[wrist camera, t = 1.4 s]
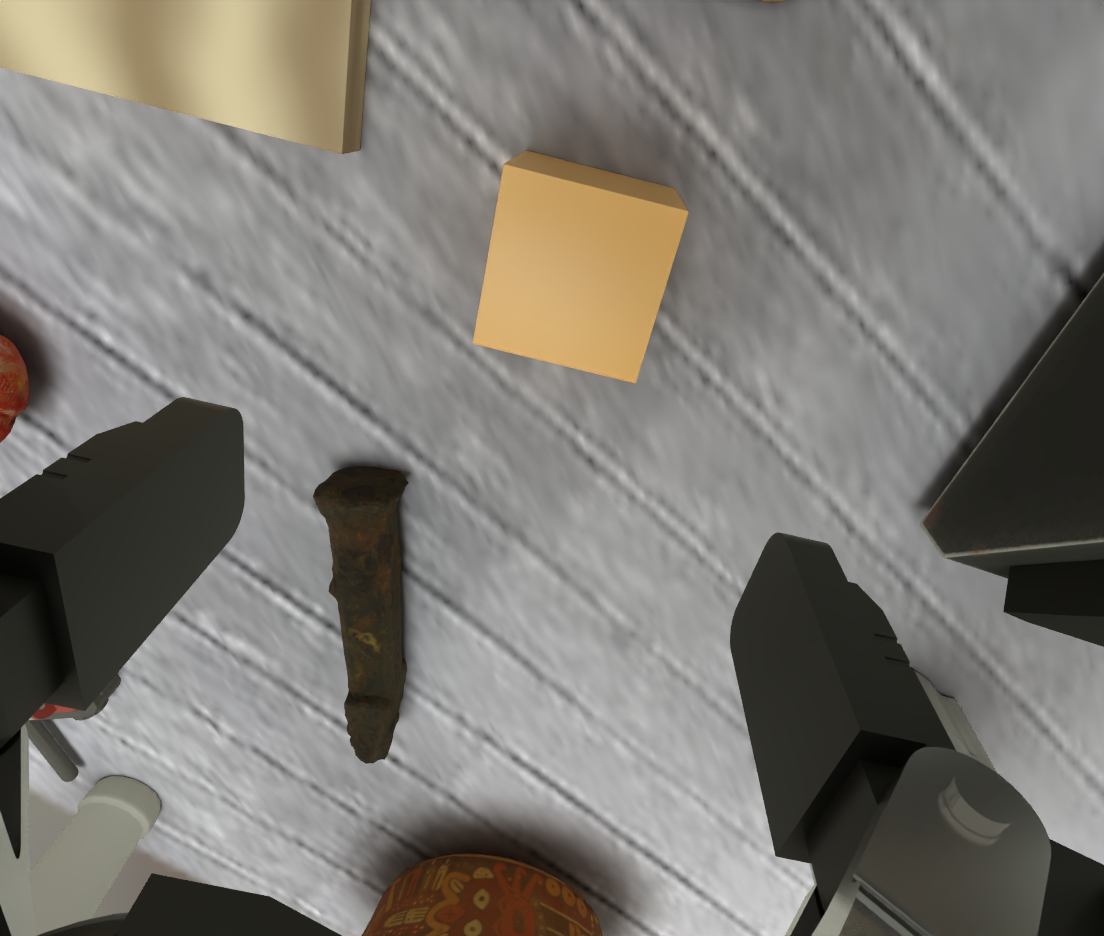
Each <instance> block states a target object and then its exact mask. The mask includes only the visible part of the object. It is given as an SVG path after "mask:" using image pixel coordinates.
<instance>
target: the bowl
mask: <svg viewBox="0 0 1104 936" xmlns="http://www.w3.org/2000/svg"><path fill="white" fill-rule="evenodd" d="M362 936H602V932H601V928H600V925H599V921H598V919H597V917H596V915H595V913H594V911H593V910H592V908H591V907H590V906H589V904H588V903H587V902H586V901H585V900H584V898H583V897H582V896H581V895H580V894H579V893H578V892H576V891H575V890H574V889H572V888H571V887H570V886H568V885H567V884H565V883H564V882H562V881H561V880H559V879H557V878H556V877H554V876H552V875H551V874H549V873H547V872H545V871H543V870H540V869H537V868H535V867H533V866H531V865H528V864H525V863H523V862H520V861H516V860H513V859H509V858H506V857H498V856H491V855H483V854H470V853H469V854H453V855H446V856H440V857H437V858H433V859H430V860H426V861H423V862H420V863H418V864H416V865H414V866H411V867H409V868H407V869H405V870H404V871H403V872H402V873H401V874H400V875H399V876H398V877H397V878H396V879H395V880H394V881H393V882H392V883H391V884H390V885H389V887H388V889H387V890H386V892H385V893H384V895H383V897H382V898H381V900H380V902H379V904H378V906H377V908H376V910H375V912H374V914H373V916H372V918H371V920H370V922H369V924H368V925H367V927H366V929H365V931H364V933H363V934H362Z"/></svg>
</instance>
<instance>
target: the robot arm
mask: <svg viewBox="0 0 1104 936" xmlns="http://www.w3.org/2000/svg"><path fill="white" fill-rule="evenodd" d="M244 498H245V492H244V435H243V420H242V416H241V414H240V412H239V411H238V410H237V409H235V408H230V407H226V406H221V405H217V404H213V403H208V402H204V401H199V400H195V399H190V398H186V397H181V398H178V399H176V400H175V401H173V402H172V403H170V404H169V405H167V406H166V407H165V408H163V409H162V410H160V411H159V412H158V413H156V414H155V415H153V416H152V417H151V418H149V419H148V420H146V421H145V422H143V423H141V422H137V421H135V422H132V423H129V424H126V425H123V426H120V427H117V428H114V429H111V430H108V431H105V432H102V433H99V434H96V435H95V436H93V437H92V438H90V439H89V440H87V441H86V442H84V443H83V444H81V445H80V446H78V447H77V448H75V449H74V450H72V451H71V452H69V453H68V456H67V458H60V459H59V460H57V461H56V462H54V463H53V464H51V465H50V466H48V467H47V468H45V469H44V470H43V474H42V475H38V474H36V475H35V476H33V477H32V478H30V479H29V480H27V481H26V482H24V483H23V484H21V485H20V486H18V487H17V488H15V489H14V490H12V491H11V492H9V493H8V494H6V495H5V496H3V497H2V498H0V936H341V935H340V934H338V933H336V932H334V931H332V930H330V929H328V928H327V927H325V926H323V925H321V924H319V923H317V922H316V921H314V920H312V919H310V918H308V917H306V916H305V915H303V914H301V913H299V912H297V911H295V910H294V909H292V908H290V907H288V906H286V905H284V904H282V903H281V902H279V901H277V900H275V899H273V898H271V897H269V896H264V895H259V894H254V893H249V892H244V891H239V890H233V889H228V888H223V887H218V886H213V885H208V884H203V883H198V882H193V881H188V880H182V879H178V878H172V877H167V876H162V875H157V874H151V876H150V877H149V879H148V881H147V882H146V884H145V886H144V887H143V889H142V891H141V893H140V894H139V896H138V898H137V900H136V901H135V903H134V904H133V906H132V908H131V910H130V911H129V913H119V914H112V915H108V916H103V917H98V918H93V919H88V920H83V921H79V922H76V923H73V924H70V925H67V926H64V927H60V928H57V929H54V930H51V931H48V932H45V933H42V934H40V935H37V928H36V921H35V915H34V909H33V902H32V894H31V883H30V840H29V839H30V831H29V739H28V732H27V728H26V725H25V723H26V722H27V721H28V720H29V719H30V718H31V717H32V716H33V714H34V713H35V712H36V711H37V710H38V709H39V708H40V707H41V706H42V705H43V704H44V703H47V704H52V705H57V706H62V707H67V708H72V709H76V710H81V711H86V709H87V708H88V707H89V706H90V705H91V703H92V702H93V701H94V700H95V699H96V698H97V696H98V695H99V694H100V693H101V692H102V690H103V689H104V688H105V687H106V686H107V685H108V683H109V682H110V681H111V680H112V679H113V677H114V676H115V675H116V674H117V673H118V672H119V670H120V669H121V668H122V667H123V666H124V665H125V663H126V662H127V661H128V660H129V659H130V657H131V656H132V655H133V654H134V653H135V652H136V650H137V649H138V648H139V647H140V646H141V644H142V643H143V642H144V641H145V640H146V639H147V637H148V636H149V635H150V634H151V633H152V631H153V630H154V629H155V628H156V627H157V626H158V624H159V623H160V622H161V621H162V620H163V619H164V617H165V616H166V615H167V614H168V613H169V611H170V610H171V609H172V608H173V607H174V606H175V604H176V603H177V602H178V601H179V600H180V598H181V597H182V596H183V595H184V594H185V593H186V591H187V590H188V589H189V588H190V587H191V585H192V584H193V583H194V582H195V581H196V580H197V578H198V577H199V576H200V575H201V574H202V572H203V571H204V570H205V569H206V568H207V567H208V565H209V564H210V563H211V562H212V561H213V560H214V558H215V557H216V556H217V555H218V554H219V552H220V551H221V550H222V549H223V548H224V547H225V545H226V544H227V543H228V542H229V541H230V539H231V538H232V537H233V535H234V533H235V531H236V529H237V527H238V525H239V523H240V520H241V516H242V513H243V508H244ZM730 646H731V653H732V657H733V662H734V666H735V671H736V676H737V680H738V685H739V689H740V694H741V699H742V703H743V708H744V712H745V717H746V722H747V726H748V731H749V735H750V740H751V745H752V749H753V754H754V759H755V763H756V768H757V772H758V777H759V782H760V786H761V791H762V795H763V800H764V805H765V809H766V814H767V818H768V823H769V828H770V832H771V837H772V841H773V846H774V851H775V855H776V856H777V857H782V858H787V859H791V860H796V861H801V862H806V863H809V864H810V868H811V872H812V876H813V880H814V884H815V885H814V886H813V887H812V889H811V890H810V891H809V893H808V894H807V895H806V897H805V899H804V901H803V902H802V904H801V906H800V908H799V910H798V912H797V914H796V916H795V918H794V919H793V921H792V923H791V925H790V927H789V929H788V931H787V933H786V934H785V936H1104V865H1103V864H1101V863H1099V862H1096V861H1094V860H1092V859H1090V858H1088V857H1086V856H1084V855H1082V854H1080V853H1078V852H1076V851H1073V850H1071V849H1069V848H1067V847H1065V846H1063V845H1061V844H1059V843H1057V842H1055V841H1053V840H1050V839H1049V837H1048V835H1047V832H1046V830H1045V827H1044V826H1043V824H1042V822H1041V820H1040V818H1039V817H1038V815H1037V814H1036V812H1035V811H1034V810H1033V808H1032V807H1031V805H1030V804H1029V803H1028V802H1027V801H1026V800H1025V798H1024V797H1023V796H1022V795H1021V794H1020V793H1019V792H1018V791H1017V790H1016V789H1015V788H1014V787H1013V786H1012V785H1011V784H1010V783H1009V782H1007V781H1006V780H1005V779H1004V778H1003V777H1001V776H1000V775H999V774H998V773H997V772H996V770H995V768H994V766H993V764H992V763H991V761H990V759H989V757H988V756H987V754H986V752H985V750H984V748H983V747H982V745H981V743H980V741H979V740H978V738H977V736H976V734H975V732H974V731H973V729H972V727H971V725H970V723H969V722H968V720H967V718H966V716H965V715H964V713H963V711H962V709H961V707H960V706H959V704H958V702H957V700H955V699H953V698H948V697H945V696H942V695H940V694H939V693H938V692H937V691H936V689H935V688H934V687H933V686H932V684H931V683H930V682H929V681H928V680H927V679H926V678H924V677H923V676H922V675H920V674H919V673H918V672H916V671H914V669H913V668H910V667H909V663H910V662H909V660H908V658H907V656H906V654H905V652H904V650H903V648H902V646H901V644H897V637H896V635H895V633H894V631H893V629H892V627H891V625H890V624H889V622H888V620H887V618H886V616H885V614H884V612H883V610H882V609H881V608H880V607H879V606H878V605H877V604H876V603H875V602H874V601H873V600H872V599H871V598H870V597H869V596H868V595H867V594H866V593H865V592H864V591H863V590H862V589H861V588H860V587H859V586H858V585H857V584H855V583H851V582H848V581H847V579H846V577H845V574H844V572H843V570H842V568H841V566H840V564H839V562H838V560H837V558H836V556H835V554H834V552H833V550H832V548H831V547H830V546H829V545H828V544H827V543H823V542H819V541H814V540H810V539H805V538H801V537H797V536H792V535H788V534H783V533H775V534H774V535H772V536H771V538H770V539H769V540H768V542H767V544H766V545H765V547H764V550H763V552H762V554H761V556H760V558H759V560H758V562H757V565H756V567H755V569H754V571H753V573H752V575H751V578H750V580H749V582H748V584H747V586H746V588H745V590H744V593H743V595H742V597H741V599H740V601H739V603H738V605H737V608H736V610H735V613H734V616H733V620H732V625H731V633H730Z"/></svg>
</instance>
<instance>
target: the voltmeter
mask: <svg viewBox="0 0 1104 936" xmlns="http://www.w3.org/2000/svg"><path fill="white" fill-rule="evenodd" d="M920 525H921V527H922V528H923V530H924V531H925V532H926V534H927V535H928V537H929V538H930V540H931V541H932V542H933V544H934V545H935V547H936V548H937V550H938V551H939V553H940V554H941V555H942V557H944V558H947V559H950V560H953V561H956V562H959V563H962V564H965V565H968V566H971V567H975V568H978V569H981V570H984V571H987V572H990V573H993V574H996V575H999V576H1002V577H1005V578H1008V584H1007V591H1006V598H1005V605H1004V612H1005V613H1007V614H1010V615H1012V616H1015V617H1017V618H1019V619H1022V620H1024V621H1027V622H1029V623H1032V624H1035V625H1038V626H1042V627H1045V628H1048V629H1051V630H1054V631H1057V632H1060V633H1063V634H1066V635H1069V636H1072V637H1075V638H1079V639H1082V640H1085V641H1088V642H1091V643H1094V644H1097V645H1100V646H1103V647H1104V273H1103V274H1102V276H1101V277H1100V279H1099V280H1098V281H1097V283H1096V284H1095V285H1094V287H1093V288H1092V289H1091V291H1090V292H1089V294H1088V295H1087V296H1086V298H1085V299H1084V300H1083V302H1082V303H1081V304H1080V306H1079V307H1078V309H1077V310H1076V311H1075V313H1074V314H1073V315H1072V317H1071V318H1070V319H1069V321H1068V322H1067V324H1066V325H1065V326H1064V328H1063V329H1062V330H1061V332H1060V333H1059V334H1058V336H1057V337H1056V339H1055V340H1054V341H1053V343H1052V344H1051V345H1050V347H1049V348H1048V349H1047V351H1046V352H1045V354H1044V355H1043V356H1042V358H1041V359H1040V360H1039V362H1038V363H1037V364H1036V366H1035V367H1034V369H1033V370H1032V371H1031V373H1030V374H1029V375H1028V377H1027V378H1026V379H1025V381H1024V382H1023V384H1022V385H1021V386H1020V388H1019V389H1018V390H1017V392H1016V393H1015V394H1014V396H1013V397H1012V399H1011V400H1010V401H1009V403H1008V404H1007V405H1006V407H1005V408H1004V410H1003V411H1002V412H1001V414H1000V415H999V416H998V418H997V419H996V420H995V422H994V423H993V425H992V426H991V427H990V429H989V430H988V431H987V433H986V434H985V435H984V437H983V438H982V440H981V441H980V442H979V444H978V445H977V446H976V448H975V449H974V450H973V452H972V453H971V455H970V456H969V457H968V459H967V460H966V461H965V463H964V464H963V465H962V467H961V468H960V470H959V471H958V472H957V474H956V475H955V476H954V478H953V479H952V480H951V482H950V483H949V485H948V486H947V487H946V489H945V490H944V491H943V493H942V494H941V495H940V497H939V498H938V500H937V501H936V502H935V504H934V505H933V506H932V508H931V509H930V510H929V512H928V513H927V515H926V516H925V517H924V519H923V520H922V521H921V523H920Z"/></svg>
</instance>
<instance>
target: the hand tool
mask: <svg viewBox="0 0 1104 936" xmlns="http://www.w3.org/2000/svg"><path fill="white" fill-rule="evenodd" d="M407 484H408V481H407V480H406V479H405V478H404V476H403V475H402V474H401V473H400V472H399V471H394V470H393V471H392V470H383V469H380V468H375V467H352V468H345V469H342V470H338V471H336V472H334V473H332V475H331V476H330V477H329V478H328V479H327V480H326V481H324V482H323V483H321V484H319V486H318V487H317V488H316V490H315V492H314V495H313V498H314V500H315V502H316V505H317V506H318V508H319V511H320V513H321V514H322V515H323V516H324V517H325V518H326V522H327V524H328V527H329V534H330V543H331V551H332V556H333V567H332V571H333V579H332V581H331V583H330V585H329V592H330V594H332V595H333V596H334V597H335V598H336V599H337V601H338V609H339V614H340V623H341V632H342V639H343V647H344V655H345V661H346V667H347V674H348V688H349V692H348V696H347V698H346V701H345V704H344V708H345V716H346V718H347V721H348V725H347V732H348V734H349V735H350V736H351V738H350V743H351V746H353V748H354V750H355V754H356V756H357V757H358V758H359V759H360V760H361V761H363V762H364V763H374V762H376V761H377V760H380V759H385V758H386V756H387V755H388V751H389V749H390V746H391V743H392V739H393V733H394V729H395V726H396V724H397V722H398V719H399V711H398V710H399V707H400V702H401V699H402V697H403V686H404V683H405V675H406V671H407V669H406V662H405V660H404V659H403V658H402V606H401V589H400V581H401V551H400V540H399V535H398V519H397V513H398V500H399V499H400V497H401V495H402V494H403V492H404V489H405V486H406V485H407Z"/></svg>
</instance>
